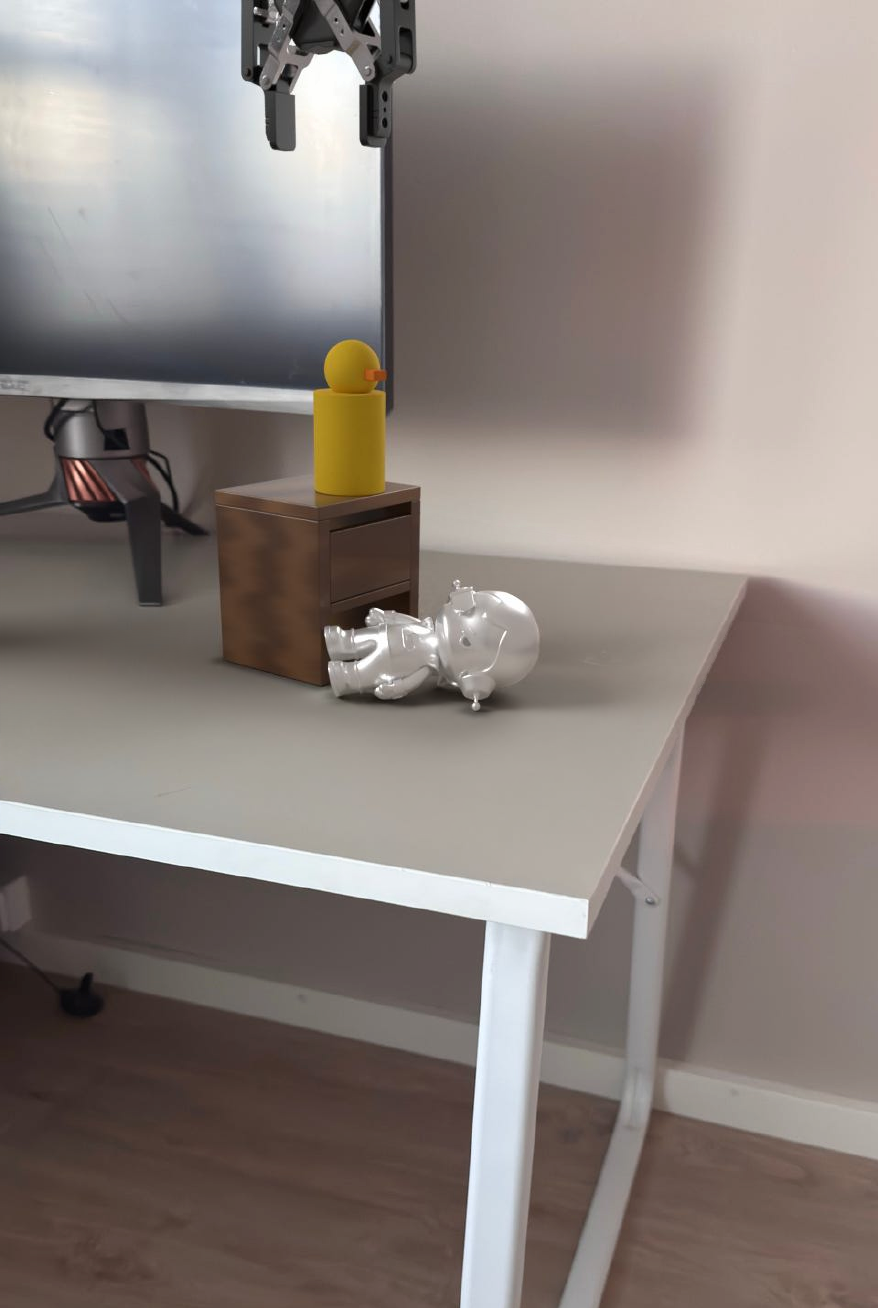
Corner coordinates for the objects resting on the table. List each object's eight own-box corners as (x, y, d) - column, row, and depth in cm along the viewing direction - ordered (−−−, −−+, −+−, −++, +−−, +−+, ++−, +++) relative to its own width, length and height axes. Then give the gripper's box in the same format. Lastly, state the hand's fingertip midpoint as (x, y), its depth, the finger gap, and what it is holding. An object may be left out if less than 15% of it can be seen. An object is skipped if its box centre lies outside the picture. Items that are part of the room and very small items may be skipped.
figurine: (315, 577, 83) (525, 540, 82) (334, 628, 89) (529, 595, 89) (329, 711, 79) (550, 674, 78) (348, 753, 85) (552, 720, 85)
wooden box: (222, 660, 91) (214, 489, 86) (323, 627, 100) (321, 472, 95) (321, 686, 86) (318, 506, 81) (418, 649, 95) (421, 486, 90)
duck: (300, 489, 87) (297, 338, 83) (352, 482, 90) (351, 337, 86) (353, 500, 83) (352, 342, 79) (405, 492, 87) (407, 341, 83)
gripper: (207, -123, 80) (219, 147, 86) (372, -159, 72) (372, 139, 79) (282, -95, 85) (288, 157, 92) (442, -125, 78) (436, 150, 84)
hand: (326, 148), depth 85 cm, fingers open, 8 cm apart
